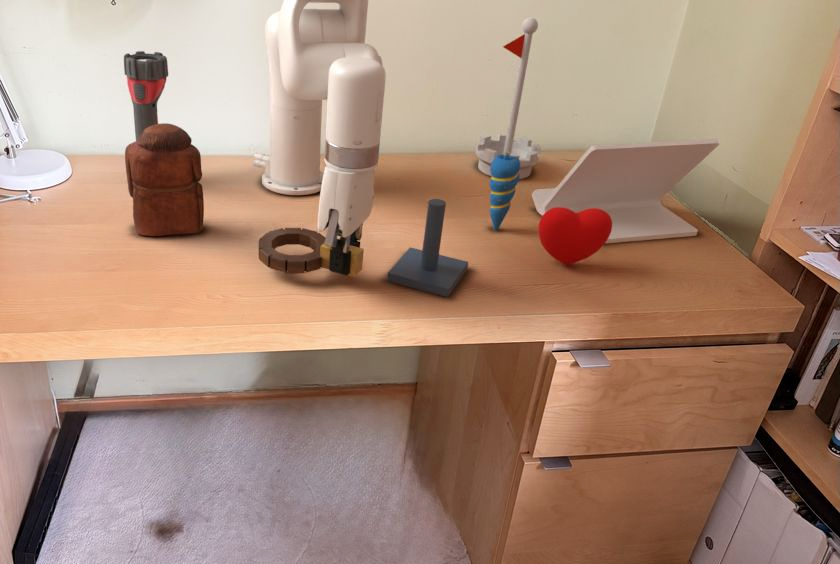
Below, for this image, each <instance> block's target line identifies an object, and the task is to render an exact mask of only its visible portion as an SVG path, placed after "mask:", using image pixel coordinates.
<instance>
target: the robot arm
mask: <svg viewBox="0 0 840 564" xmlns="http://www.w3.org/2000/svg"><path fill="white" fill-rule="evenodd" d="M309 3H310V4H311V3H313V4H314V3H315V4H318V3H319V4H320V3H321V4H322V3H323V4H331V3H332V4H338V5H339V7H338V8H339V9H337V8H334V9H333V8H332V9H331V8H330V9H329V8H305V7H306V6H307V5H308V4H309ZM368 8H369V0H283V2H282V4H281V8H280V10H277V11H276V12H274V13H273V14H271V15H270V16H269V17H268V19H267V20H266V23H265V29H264V38H265V47H266V53H267V61H268V70H269V91H270V92H269V96H270V97H269V120H270V121H269V123H270V124H269V155H266V154H263V153H259V152H255V154H254V156H253V161H252V162H253V163H252V164H253V167H255V168H259V169H260V168H261V169H263V170H264V172H263V174H261V175H262V176H261V183H262V186H263V187H264V188H266V189H267V190H269V191H270V192H273V193H276V194H281V195H287V196H308V195H313V194H317V193H319V192H320V193H319V202H318V214H317V225H316V226H317V230H318V232H319V233H320V232H321V233H322V232H324V231H326V234H325V237H326V238H325V245H327V246H329V249H330V261H329V269H328V270H329V271H330V272H332V273H335V274H339V275H343V276H349V275H348V274H349V273H350V262H351V251H349V245H351V246H355V247H359V248H361V240H362V236H363V226H364V223H365V222H366V221H367V219H368V218H370V215H371V213H372V210H373V205H374V193H375V169H376V168H377V167H378V165H379V157H380V156H379V154H380V146H381V134H382V123H383V122H382V121H383V112H384V102H385V101H384V100H385V89H386V79H387V77H386V76H387V74H386V69H385V68H384V66H383V60H382V57H381V56H380V54H379V52H378V50H377V49H376V48H375V47H374V46H373V45H371V44H369V43H366V33H367V21H368V11H369V10H368ZM324 100H325V101H326V102H327V103H326V120H325V121H326V125H325V141H324V159H323V160H324V164H325V167H324V169H323V170H324V171H321V170H320V168H321V144H322V118H323V115H322V114H323V101H324ZM338 237H339V238H338Z"/></svg>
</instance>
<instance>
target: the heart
mask: <svg viewBox="0 0 840 564" xmlns="http://www.w3.org/2000/svg"><path fill="white" fill-rule="evenodd" d="M538 222H539V223H538V229H537V231H538V238H539V241H540V243H541V245H542V247H543V248H544V250H545V251H546V252H547V254H549V256H550V257H552V258H553V259H555V261H557V262H559V263H560V264H562V265H564V266H570V265H573V264H575V263H579V262H581V261H583V260H585V259H588V258H589V257H591V256H593V255H595V254H596V253H597V252H598V251H599V250H600V249H602V247H603V246H604V245H606V243H605V242H606V241H607V239H608V238H609V236H610V233H611V230H612V220H611V217H610V216H609V214H608V213H607V212H605V211H604V210H601V209H597V208H591V209H586V210H583V211H580V212H578V213H575V212H573V211H572V210H570V209H567V208H563V207H555V208H552V209H549V210H548V211H546V212H545V213H544V214H543V216H542V215H541V218H540V219H539V221H538Z"/></svg>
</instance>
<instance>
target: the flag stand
mask: <svg viewBox="0 0 840 564" xmlns="http://www.w3.org/2000/svg"><path fill="white" fill-rule="evenodd" d="M521 29H522V31H523V32H524V33H523V34H522V35H521V36H519V37H517V38H515V39H513V40H512V41H510V42H508V43H507V44H505V45H502V48H504V49H505V50H507V51H509V52H510V53H512V54H513V55H515V56H516V57H518V58H519V61H518V62H519V63H518V69H517V74H516V80H515V86H514V90H513V97H512V103H511V107H510V113H509V119H508V125H507V131H506V133H498V134H497V138H492V136H491V135H490V134H485V135H482V136H480V137H479V140H476V144H475V152H474V153H475V155H476V157H477V158H478V165H477V168H478V170H479V171H480V172H481V173H483V174H485V175H487V176H489V177H492V176H491V171H490V166H491V163H492V161H493V159H494V158H495V157H496V156H498V155H503V154H504V153H505V151H509V152H510V155H511V156H514V157H516V158H518V159H519V161H520V169H519V171H518V172H519V175H520V178H519V180H521V179H525V178H528V177H529V176H530V175H531V174H532V169H533V166H534V165H536V164H537V163H538V162H539V160H540V155H541V149H542V148H541V145H540V144H536V143H535V144H533V145H532V142H533V140H532V139H530V138H528V137H524V136H521V137H519V139H518V140H519V141H518V140H514V139H515V133H516V129H517V124H518V123H517V122H518V118H519V113H520V112H519V111H520V106H521V100H522V94H523V89H524V85H525V84H524V83H525V79H526V73H527V67H528V62H529V55H530V51H531V45H532V41H533V40H532V39H533V34H534V33H536V32H537V30H538V29H539V23H538V21H537V19H536V18H534V17H527V18H526V19H524V20H523V22H522V25H521ZM506 148H507V149H506Z"/></svg>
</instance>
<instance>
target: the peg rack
mask: <svg viewBox="0 0 840 564" xmlns="http://www.w3.org/2000/svg"><path fill="white" fill-rule="evenodd" d="M446 206H447V203H446V201H445V200H444V199H441V198H431V199H429V200H428V203H427V210H426V219H425V227H424V235H423V244H422V249H418V248H414V247H410V246H409V248H408V249H407V250H406V251H405V252H404V253H403V254H402V256H401V257H400V258H399V259H398V260H397V261H396V263H394V265H393V266H392V267H391V268H390V270H389V271H388V272H387V275H386V276H387V277H386V281H387V282H388V283H393V284H395V285H400V286H404V287H408V288H411V289H415V290H419V291H422V292H427V293H430V294H435V295H437V296H441V297H445V298H449V296H450V295H451V293H452V292H453V291H454V289H455V288H456V286H457V285H458V283H459V282H460V281H461V280H462V278H463V276H464V275H465V273H466V272H467V270H468V268H469V261H468V260H467V261H466V260H463V259H460V258H459V259H458V258H455V257H451V256H447V255H442V254H440V250H441V249H440V248H441V241H442V236H443V228H444V220H445V212H446Z"/></svg>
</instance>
